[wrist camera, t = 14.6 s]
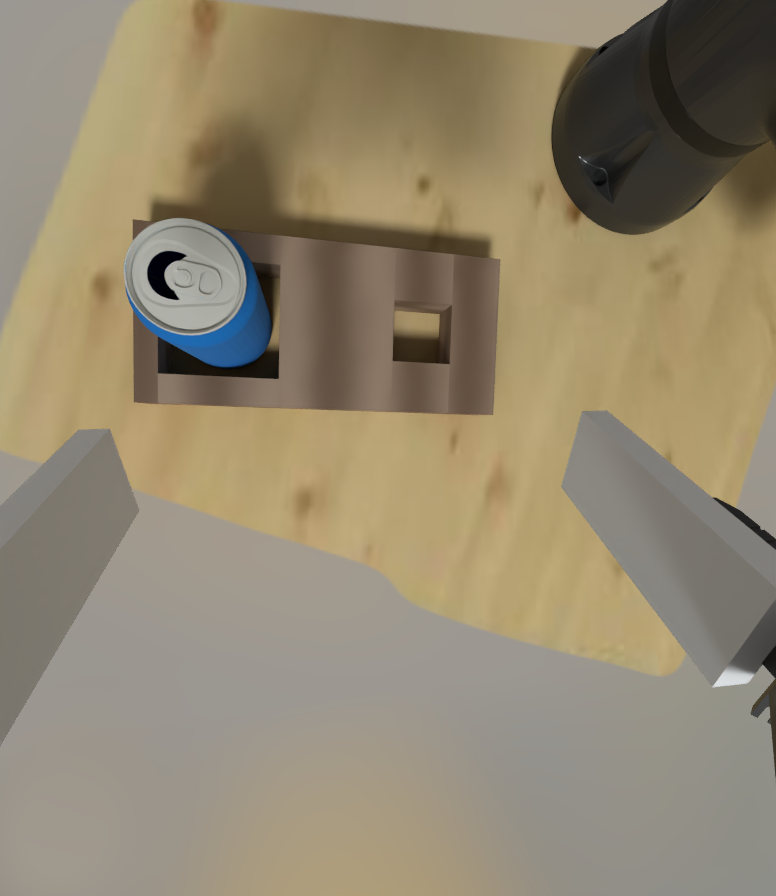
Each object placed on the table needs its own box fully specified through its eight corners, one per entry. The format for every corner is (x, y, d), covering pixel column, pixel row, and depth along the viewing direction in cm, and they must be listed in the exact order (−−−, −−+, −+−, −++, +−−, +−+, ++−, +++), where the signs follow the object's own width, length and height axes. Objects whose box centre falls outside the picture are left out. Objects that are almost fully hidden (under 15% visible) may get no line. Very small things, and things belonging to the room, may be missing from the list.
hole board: (484, 272, 36) (500, 259, 33) (478, 415, 37) (493, 414, 34) (148, 238, 31) (132, 219, 29) (149, 403, 32) (133, 402, 29)
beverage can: (191, 274, 32) (125, 191, 20) (279, 295, 33) (265, 229, 22) (176, 360, 32) (103, 327, 21) (264, 378, 34) (242, 356, 22)
